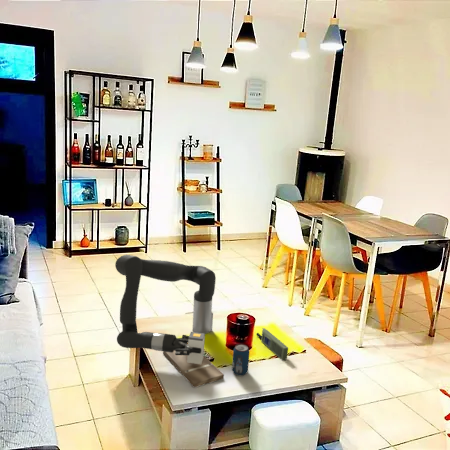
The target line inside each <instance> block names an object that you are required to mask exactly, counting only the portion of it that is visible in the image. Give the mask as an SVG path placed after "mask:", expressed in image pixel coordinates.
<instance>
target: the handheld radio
mask: <svg viewBox="0 0 450 450" xmlns="http://www.w3.org/2000/svg"><path fill="white" fill-rule="evenodd" d="M256 336H257V337H258V338H259V339H261V340H260V341H261V343H262V344H263V345H265V346H266V347H267V348H268V349H269V350H270V351H271V352H272V353H273V354H275V355H276V356H277V357H278V358H279V360H281V361H282V362H285V361H288V353H289V347H288V346H287V345H285V344H284V342H282V341H281V340H280V339H278V338H277V336H275V335H274V334H273V333H272V332H270V331H269V330H268V329H266V328H263V327H262V330H261V334H260V333H259V332H257V333H256Z"/></svg>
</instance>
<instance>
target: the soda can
mask: <svg viewBox="0 0 450 450" xmlns="http://www.w3.org/2000/svg"><path fill="white" fill-rule="evenodd" d="M232 351H233V352H232V364H231V371H232V372H233V374H234V375H235V376H238V377H241V376H245V375H246V374H247V373H248V371H249V364H250V363H249V361H250V349H249V347H248V345H246V344H243V343H239V344H236V345H235V346H234V348H233V350H232Z"/></svg>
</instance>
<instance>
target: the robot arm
mask: <svg viewBox="0 0 450 450" xmlns="http://www.w3.org/2000/svg"><path fill="white" fill-rule="evenodd" d="M114 264H115V270H116V271H117V272H118V273H119V274H120V275H122V276H124V277H125V288H124V289H125V290H124V294H123V295H122V298H121V301H120V306H119V307H120V308H119V322H120V323H121V325H122V330H121V331H120V332H119V333H118V335H117V336H116V342H117V344H118V345H119V346H120V347H121V348H125V349H147V350H154V351H159V352H162V353H163V352H171V353H173V352H174V350H175V355H190V353H201V348H196V347H193V348H192V347H190V346H188V344H187V343H188V340H189V335H187V334H182V337H177V336H176V335H175V334H172V333H171V334H170V333H164V332H149V331H143V332H138V326H137V305H138V297H139V296H138V294H139V290H140V282H141V278H142V277H147V278H150V279H155V280H158V281H162V282H173V283H174V282H175V283H176V282H179V281H181V280H183V281H189V282H192V283H195V284H196V285H199V287H198V290H196V291H195V292H194V294H193V311H192V332H198V333H205V335H206V334H208V333H210V332H211V331H213V323H214V312H212V311H213V310H212V309H213V307H212V306H213V297H214V294H215V291H216V290H215V289H216V280H217V279H216V274H215V272H214V271H213V270H211V269H209V268H207V267H205V266H203V265H187V264H183V263H179V262H175V261H169V260H155V259H143V258H140V257H139V256H136V255H131V254H123V255H121V256H119V257H118V258H117V259H116V261H115V263H114ZM184 352H185V353H184ZM186 352H187V353H186Z"/></svg>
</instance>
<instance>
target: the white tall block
mask: <svg viewBox="0 0 450 450" xmlns="http://www.w3.org/2000/svg"><path fill="white" fill-rule="evenodd" d="M205 335H206V334H205V333H198V332H194V331H190V333H189V335H188V336H189V340H188V342H187V343H188V346H190V347H192V348H193V347H196V348H201V353H190V355H188V360H187V362H188V363H195V364H201V363H202V361H203V355H204V354H205V353H204V352H205V338H206V336H205ZM204 356H205V355H204Z"/></svg>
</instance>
